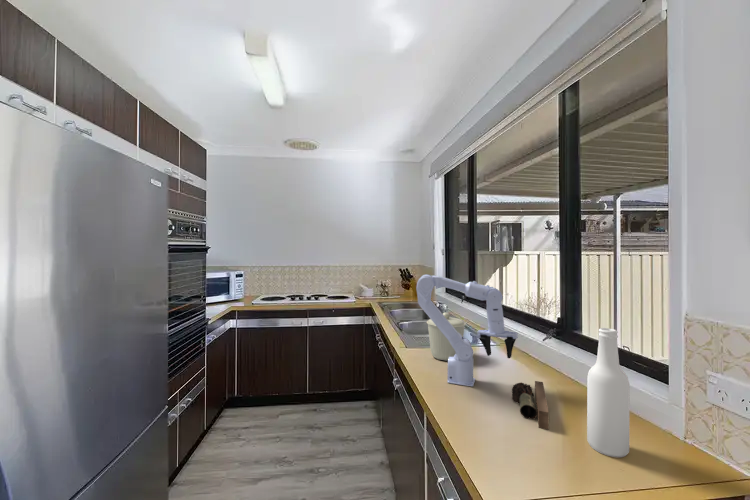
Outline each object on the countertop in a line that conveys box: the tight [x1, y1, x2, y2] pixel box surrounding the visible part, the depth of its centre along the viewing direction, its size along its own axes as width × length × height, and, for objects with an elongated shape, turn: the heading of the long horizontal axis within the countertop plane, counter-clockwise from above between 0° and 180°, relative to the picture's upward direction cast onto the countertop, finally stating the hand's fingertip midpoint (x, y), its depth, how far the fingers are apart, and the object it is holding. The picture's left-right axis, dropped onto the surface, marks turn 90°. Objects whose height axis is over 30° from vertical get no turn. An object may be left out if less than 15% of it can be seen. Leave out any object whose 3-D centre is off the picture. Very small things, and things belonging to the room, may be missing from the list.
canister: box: [426, 312, 467, 362], centre depth 158 cm, size 18×18×21 cm
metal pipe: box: [511, 381, 538, 420], centre depth 109 cm, size 18×7×6 cm, turn 159°
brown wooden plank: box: [534, 380, 550, 430], centre depth 106 cm, size 2×24×5 cm, turn 157°
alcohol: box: [586, 327, 630, 458], centre depth 86 cm, size 9×9×30 cm
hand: (499, 356), depth 126 cm, fingers open, 7 cm apart
